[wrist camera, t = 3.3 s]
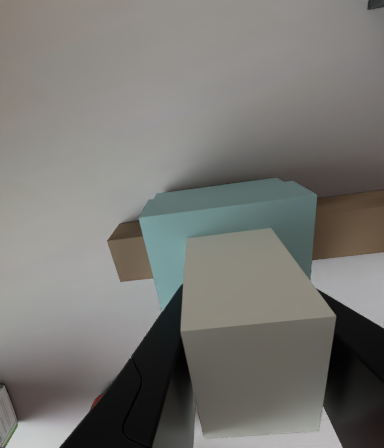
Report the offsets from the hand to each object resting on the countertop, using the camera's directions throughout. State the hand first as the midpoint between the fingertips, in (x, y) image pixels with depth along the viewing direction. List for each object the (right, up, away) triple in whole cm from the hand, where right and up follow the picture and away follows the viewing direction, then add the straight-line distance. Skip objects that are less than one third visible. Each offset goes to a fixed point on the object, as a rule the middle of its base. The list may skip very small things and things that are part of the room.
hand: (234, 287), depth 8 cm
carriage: (0, +2, +4) cm, 5 cm away
